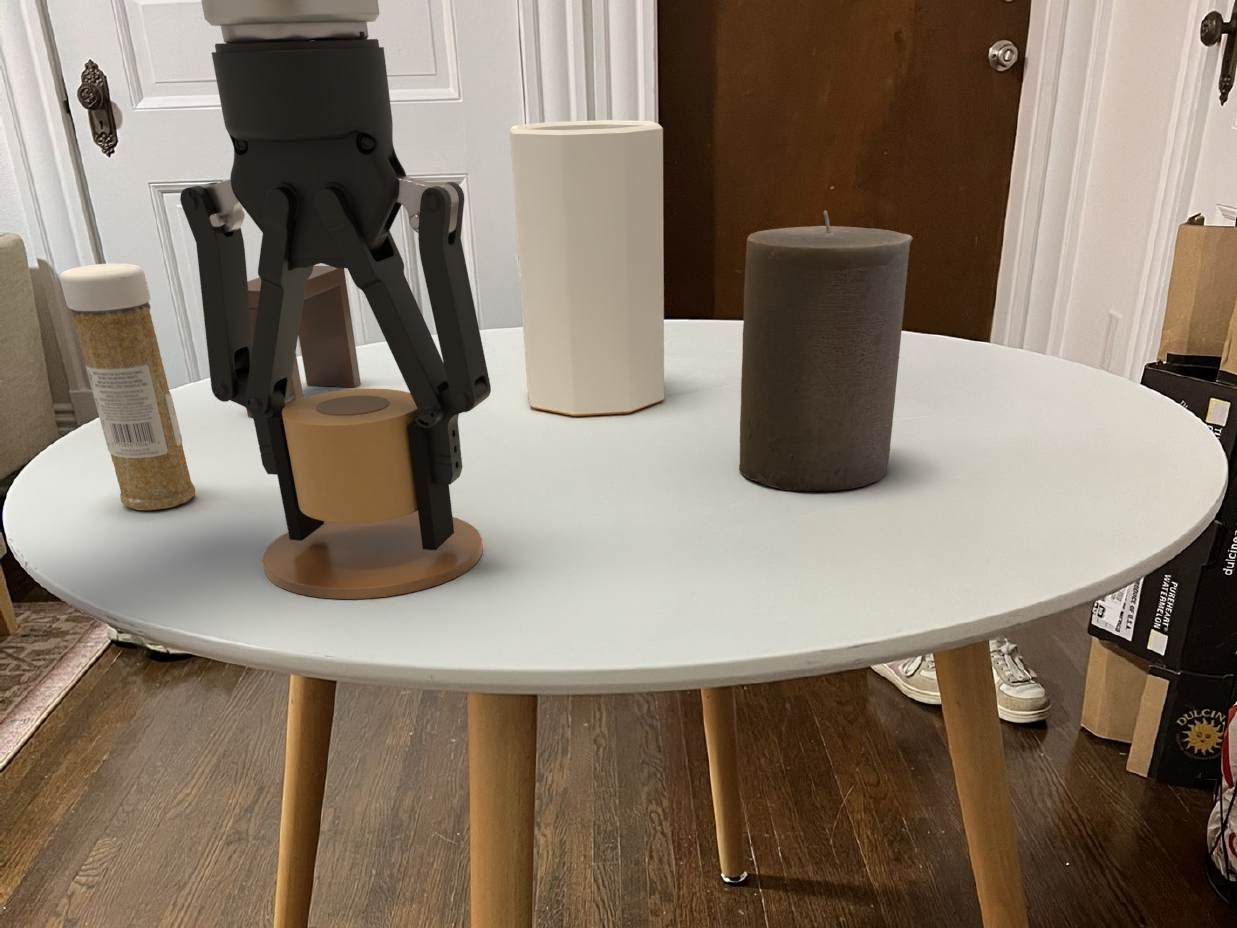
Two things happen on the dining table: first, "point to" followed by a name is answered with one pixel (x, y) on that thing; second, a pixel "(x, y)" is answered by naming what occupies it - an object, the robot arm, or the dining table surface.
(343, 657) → the dining table surface
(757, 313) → the pillar candle
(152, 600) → the dining table surface
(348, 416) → the tape roll
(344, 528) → the cork mat
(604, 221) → the cream faceted vase
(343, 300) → the brown arch block
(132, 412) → the spice jar
